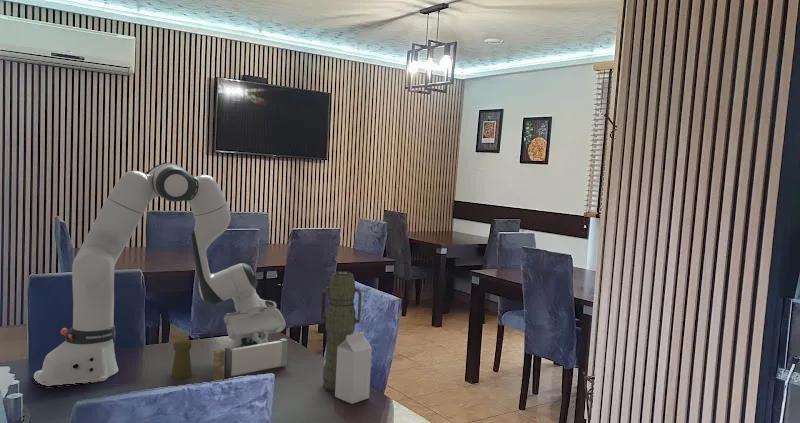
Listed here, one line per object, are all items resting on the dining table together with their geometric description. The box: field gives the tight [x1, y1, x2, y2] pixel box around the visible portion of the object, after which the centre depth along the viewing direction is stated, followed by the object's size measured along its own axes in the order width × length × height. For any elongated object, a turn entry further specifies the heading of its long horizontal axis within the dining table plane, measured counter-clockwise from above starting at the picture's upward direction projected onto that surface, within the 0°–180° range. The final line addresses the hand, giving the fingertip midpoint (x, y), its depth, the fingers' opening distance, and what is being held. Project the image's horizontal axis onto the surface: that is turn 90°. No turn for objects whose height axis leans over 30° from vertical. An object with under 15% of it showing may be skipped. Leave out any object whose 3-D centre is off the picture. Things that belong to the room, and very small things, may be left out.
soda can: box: [240, 335, 262, 347], centre depth 226 cm, size 7×7×12 cm
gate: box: [224, 338, 288, 378], centre depth 198 cm, size 22×2×9 cm, turn 132°
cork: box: [170, 338, 193, 379], centre depth 192 cm, size 6×6×11 cm
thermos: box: [321, 270, 362, 392], centre depth 189 cm, size 9×12×35 cm
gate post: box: [212, 349, 225, 382], centre depth 189 cm, size 2×2×9 cm
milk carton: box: [334, 331, 373, 405], centre depth 180 cm, size 7×7×19 cm
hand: (264, 345), depth 207 cm, fingers closed
